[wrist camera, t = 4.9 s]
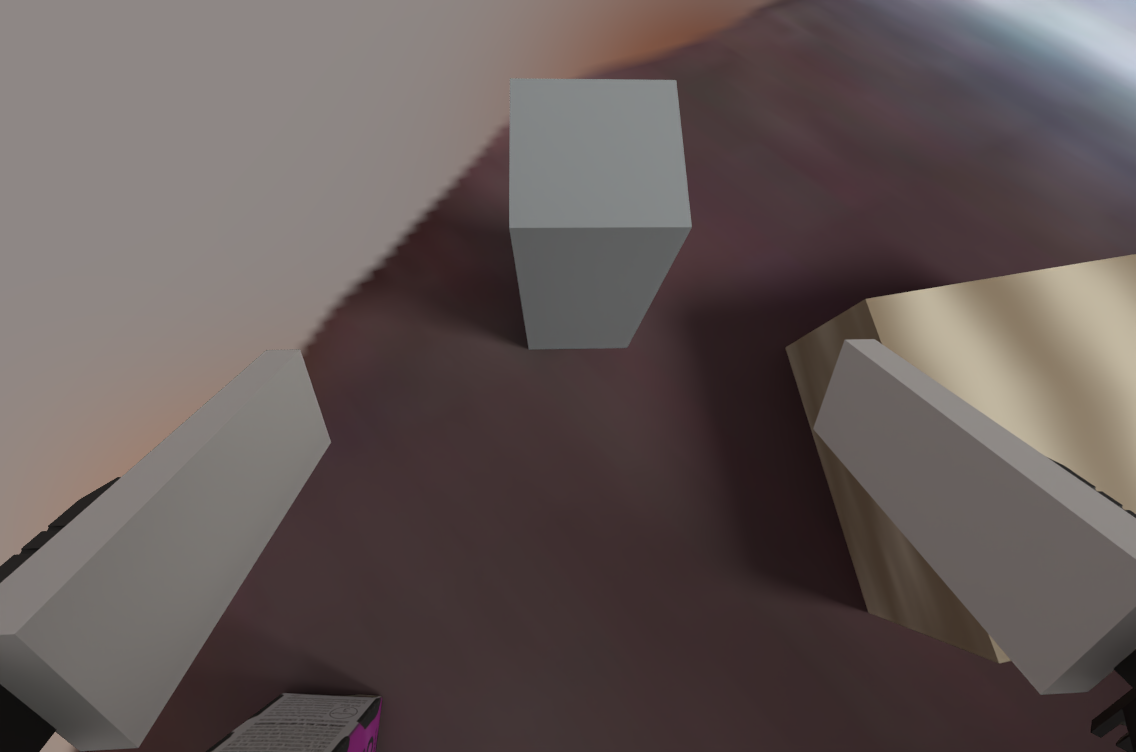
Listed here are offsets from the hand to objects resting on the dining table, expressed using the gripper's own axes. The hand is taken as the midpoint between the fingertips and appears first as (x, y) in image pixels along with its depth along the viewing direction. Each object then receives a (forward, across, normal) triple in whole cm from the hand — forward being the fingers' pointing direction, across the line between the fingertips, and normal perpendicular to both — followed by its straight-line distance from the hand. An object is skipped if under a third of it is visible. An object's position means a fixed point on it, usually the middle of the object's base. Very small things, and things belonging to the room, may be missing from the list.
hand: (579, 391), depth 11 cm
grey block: (+15, +1, -3) cm, 15 cm away
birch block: (+9, +21, -10) cm, 25 cm away
